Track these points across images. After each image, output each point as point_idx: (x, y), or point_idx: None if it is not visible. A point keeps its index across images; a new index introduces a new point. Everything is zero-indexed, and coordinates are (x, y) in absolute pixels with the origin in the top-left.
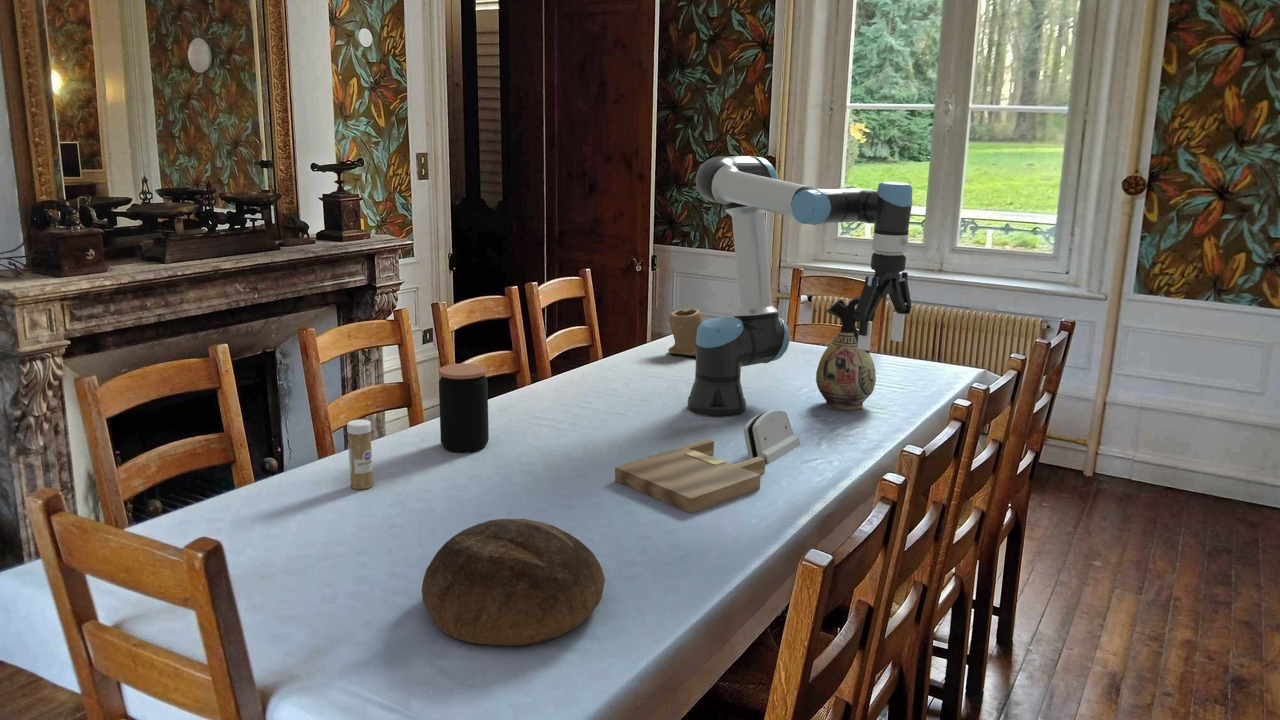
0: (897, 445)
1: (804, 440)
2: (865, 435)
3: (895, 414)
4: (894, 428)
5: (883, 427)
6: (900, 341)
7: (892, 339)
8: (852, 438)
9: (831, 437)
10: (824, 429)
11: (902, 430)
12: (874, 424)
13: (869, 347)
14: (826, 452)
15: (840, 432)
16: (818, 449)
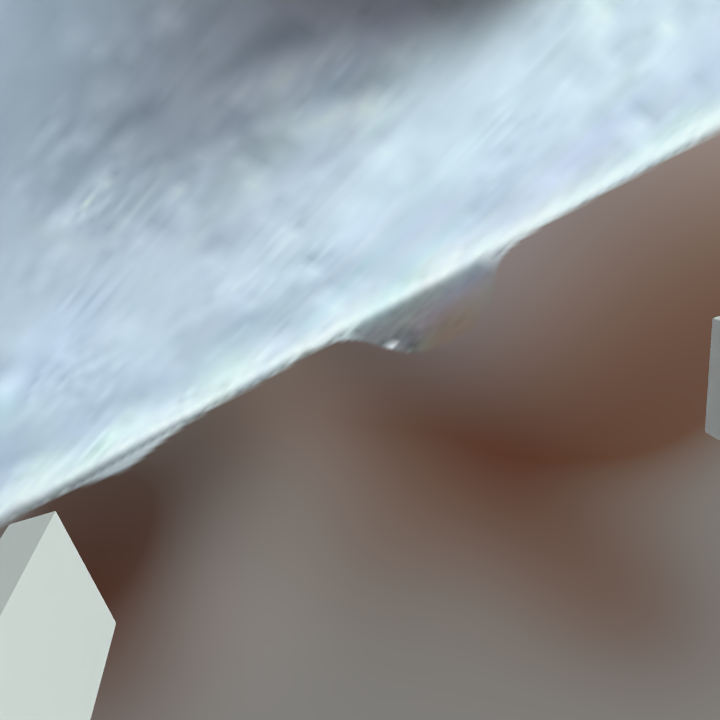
0: (358, 332)
1: (32, 102)
2: (336, 188)
3: (647, 33)
4: (498, 178)
5: (473, 145)
6: (710, 433)
7: (717, 348)
8: (261, 191)
9: (184, 134)
10: (228, 21)
11: (503, 212)
12: (474, 93)
13: (100, 654)
14: (41, 278)
15: (268, 99)
16: (27, 233)
